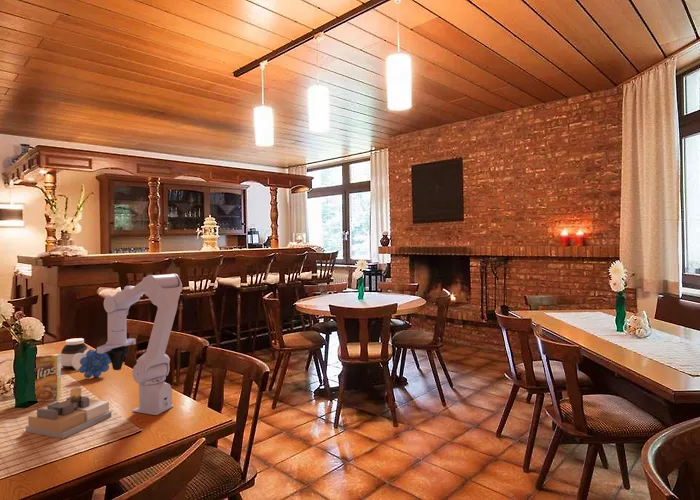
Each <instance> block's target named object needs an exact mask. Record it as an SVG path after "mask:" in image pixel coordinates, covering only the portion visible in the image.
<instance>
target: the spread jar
mask: <svg viewBox="0 0 700 500" xmlns="http://www.w3.org/2000/svg"><path fill="white" fill-rule="evenodd" d="M84 342H85V338H82V337H79V338H77V337H76V338H70V339H69V338H68V339H66V340H65V342H64V344H65V345H63V347H62V349H61V352H60V353H61V368H64V369H66V370H75V371H79V368H80V367H81V366H82V365H81V364H80V360H81V358H83V357H87V356H86V353H87V352H88V351H89V348H88V346H87V344H85V343H84Z"/></svg>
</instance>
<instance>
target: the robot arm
mask: <svg viewBox="0 0 700 500" xmlns="http://www.w3.org/2000/svg"><path fill="white" fill-rule="evenodd" d="M123 288H124V289H122V290H118V291H117V292H116V294H114V295H112V294H111V295H110V294H109V295H107V296H105V298H104V300H103V308H104V310H105V312H106V313H107V341H106V342H105V344H103V345H100V346H96V349H97V353H100V354H102V353H104V352H106V354H107V355H108V356H109V358H110V360H111V363H110V364H111V365H112V369H113V371H121V370H122V367H123V363H124V360H125V358H126V355H127V354H128V352H129V347H128V346H131V345H136V344H137V340H136V339H137V338H134V337H133V338H132V337H130V338H127V337H128V336H127V327H128V326H127V316H129V309H130V307H131V306H132V305H134V304H135V303H137V302H138V301H140V299H141V296H143V295H145V294H146V296H147V298H148V299H149V301H150V302H151V303H152V304H153V305H154V306H156V307H157V310H156V314H155V318H154V322H153V325H152V330H151V333H150V337H149V341H148V345H147V347H146V348H147V349H146V351H145V352H144V353H143V354H141V356H140V357H138V358H137V361H136V364H135V365H134V366H133V368H132V377H133V380H134V382H135V383H136V384H138V407H135V408H133V409H132V412H134V413H138V414H139V413H140V414H144V415H145V414H147V415H151V416H152V415H153V416H157V415H160V414H162V413H163V412H166V411H167V410H170V409H171V408H174V404H173V397H172V396H173V389H172V385H171V384H170V383H167V382H166V381H165V380H166V378H167V376H168V375H169V372H170V361H171V358H170V357H169V355H168V354H166V350H167V347H168V343H169V340H170V336H171V332H172V329H173V325H174V321H175V316H176V315H177V310H178V307H179V300H180V295H181V292H182V290H183V283H182V281H181V278H180V276H179V275H178V274H177V273H167V274H166V273H165V274H154V275H153V274H148V275H146V276H145V277H142V280H141V281H139V282H138V283H137V284H136V285H135V286H130V285H126V286H124V287H123Z"/></svg>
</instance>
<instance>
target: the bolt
mask: <svg viewBox="0 0 700 500" xmlns="http://www.w3.org/2000/svg"><path fill="white" fill-rule="evenodd" d="M69 393H70V396H69V397H70V399H69V400H67V399H65V400H63V401H61V402H60V401H59V402H60V403H58V404H55V405H52V406H50V409H51V410H57V411H58V414H62V407H65V406H68V405H70V404H74V409H75V408H78V407H81V400H83V399H86V398H89V397H88V396H82V388H81V387H75V388H72V389H70V391H69Z"/></svg>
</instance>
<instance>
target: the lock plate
mask: <svg viewBox="0 0 700 500" xmlns="http://www.w3.org/2000/svg"><path fill="white" fill-rule="evenodd" d="M69 399H70V396H69V397H66V400H69ZM58 403H60V401H54V402H52V403H50V404H49V403H48V404H47V407H46V408H45V407H44V408H43V407H39V408H37V409H36V413H33V414H31V415H28V417H27V421H28V422H27V423H28V425H26V426H25V432H26V433H32V434H36V435H41V436H47V437H53V438H58V439H62V440H63V439H65V438H68V437H70V436H72V435H74V434H77V433H79V432H81V431H83V430H86V429H88V428H90V427H92V426H94V425H96V424H98V423H101V422H102V421H105V420H107V419H109V418H112V411H110V410H109V409H110V408H109V407H110V404H109V403H110V402H109V401H106V400H101V399H99V400H98V399H93V398H89V397H88V398H86V399H83V400H81V407H78V408H75V409H74V404H70V405H68V406H65V407H62V414H58V411H57V410H51V409H50V406H52V405H55V404H58Z"/></svg>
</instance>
